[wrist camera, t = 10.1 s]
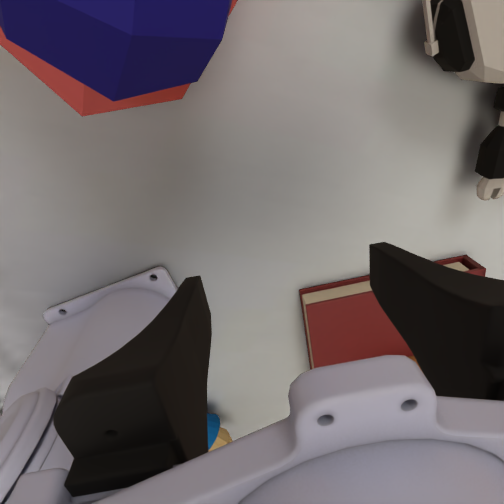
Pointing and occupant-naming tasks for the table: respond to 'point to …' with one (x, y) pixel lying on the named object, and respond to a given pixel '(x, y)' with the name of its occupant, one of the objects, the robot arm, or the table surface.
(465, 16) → the robot toy
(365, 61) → the table surface
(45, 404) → the robot arm
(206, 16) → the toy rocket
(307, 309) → the book
